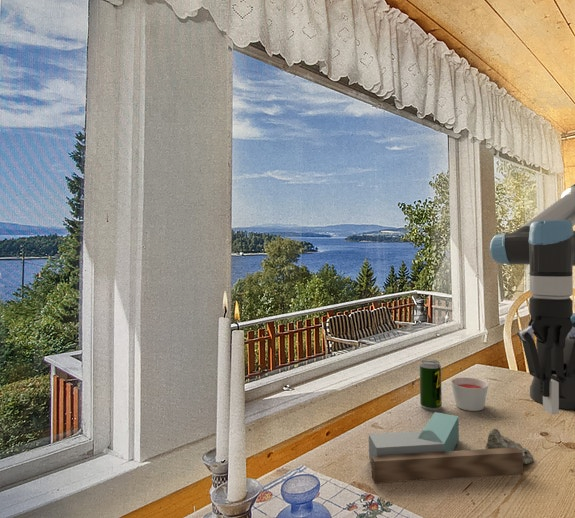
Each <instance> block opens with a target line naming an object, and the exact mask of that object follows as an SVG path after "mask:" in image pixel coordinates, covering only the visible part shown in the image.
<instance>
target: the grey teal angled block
mask: <svg viewBox="0 0 575 518" xmlns="http://www.w3.org/2000/svg"><path fill="white" fill-rule="evenodd" d="M459 426H460V425H459V416H458V415H452V414H446V413H441V412H437V411H434V412H433V414H432V416H431V418H430V419H429V420H428V422H427V423H426V424H425V426H424V428H423V429H422V430H416V431H415V430H413V431H393V432H378V433H376V432H375V433H368V459H369V460H370V463H371V464H372V458H371V456H381V455H397V454H414V453H430V452H447V451H455V448H456V447H457V444H458V441H459V440H460V433H459V432H460V431H459V430H460V429H459Z"/></svg>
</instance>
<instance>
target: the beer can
mask: <svg viewBox="0 0 575 518" xmlns="http://www.w3.org/2000/svg"><path fill="white" fill-rule="evenodd" d="M419 390H420V391H419V393H420V395H419V398H420V402H419V403H420V406H421V408H423V409H424V410H426V411H427V410H428V411H439V410H441V408H442V406H443V402H442V399H443V398H442V396H443V395H442V393H443V392H442V365H441V362H440V361H439V360H436V359H431V358H430V359H421V360H420V363H419Z"/></svg>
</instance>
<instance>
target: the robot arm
mask: <svg viewBox="0 0 575 518" xmlns="http://www.w3.org/2000/svg"><path fill="white" fill-rule="evenodd" d="M574 226H575V183H574V184H573V185H571V186H570V187H567V189H566V190H564V191H563V192H562V194H561V196H560V198H559V199H558V200H556V201H555V202H554V203H552V204H551V205H550V206H549V205H548V207H546V208H545V209H544V210H542V211H541V212H540V213H538V214H537V215H535V216H534V217H533V218H532V219H530V220H528V222H527V221H526V223H524V224H523V225H522V226H521V227H519V228H518V229H516V230H514V231H513V232H504V233H498V234H495V235H494V236H493V237H492V239H491V241H490V243H489V244H490V245H489V252H490V257H491V259H492V260H493V261H494V262H495V263H498V264H505V265H509V266H510V265H529V273H528V274H529V276H528V277H529V279H528V280H529V294H530V295H532V296H530V297H529V298H528V304H529V305H528V306H529V308H528V312H529V316H530V319H529V322H528V323H527V324H528V325H527V326H528V327H526V328H525V329H523V330H522V329H519V330H518V331H516V332H517V333H516V334H517V336H518V337H519V339H520V340H521V343H522V348H523V351H524V356H525V360H526V364H527V369H528V372H529V375H530V376H533V378H532V380H531V384H530V386H529V397H530V398H531V399H532V400H534V401H535V402H537V403H539V404H542V410H543V411H545V412H547V413H549V414H550V415H559V410H560V409H563V410H569V411H570V410H572V411H573V410H574V411H575V312H573V311H574V310H573V309H574V308H573V306H574V304H573V302H574V301H573V299H572V298H571V296H573V295H574V284H573V283H574V282H573V279H574V278H573V277H574V276H573V269H574V268H573V266H575V230H574V228H573V227H574ZM534 338H535V340H534ZM535 341H536V342H535Z"/></svg>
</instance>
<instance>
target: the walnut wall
mask: <svg viewBox="0 0 575 518" xmlns="http://www.w3.org/2000/svg"><path fill="white" fill-rule="evenodd" d="M371 458H372V463H371V478H372V480H373V482H374V484H381V483H394V482H395V483H396V482H397V483H398V482H411V481H413V482H414V481H426V480H427V481H428V480H440V479H441V480H442V479H455V478H456V479H458V478H474V477H475V478H476V477H487V476H503V475H505V476H507V475H517V474H520V475H521V474H524V463H523V452H522V451H520V450H519V449H518V448H517V447H513V448H497V449H486V448H485V449H484V448H483V449H469V450H453V451H447V452H430V453H414V454H397V455H381V456H371Z"/></svg>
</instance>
